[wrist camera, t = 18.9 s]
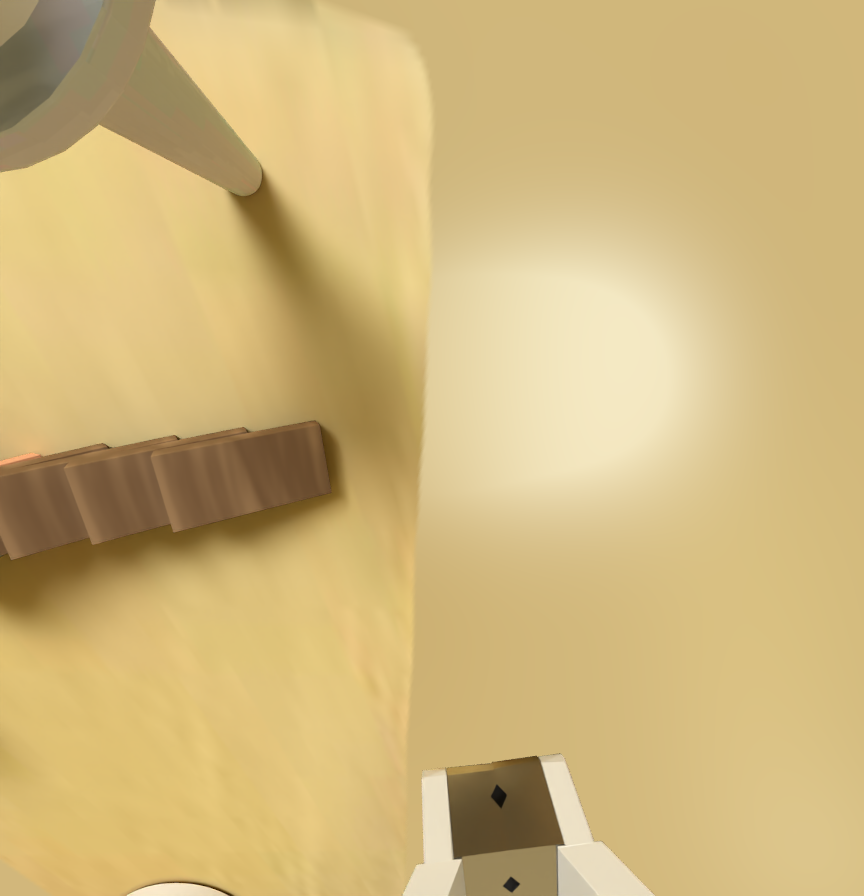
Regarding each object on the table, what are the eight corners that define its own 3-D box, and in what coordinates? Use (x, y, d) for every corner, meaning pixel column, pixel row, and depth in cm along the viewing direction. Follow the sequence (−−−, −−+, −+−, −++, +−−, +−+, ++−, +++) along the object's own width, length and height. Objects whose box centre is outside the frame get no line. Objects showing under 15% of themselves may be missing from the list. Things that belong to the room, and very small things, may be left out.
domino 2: (246, 431, 30) (63, 468, 25) (262, 499, 31) (92, 544, 27) (243, 427, 31) (69, 461, 27) (259, 492, 33) (96, 534, 28)
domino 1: (177, 439, 30) (-24, 482, 25) (196, 506, 31) (11, 560, 26) (174, 435, 31) (-17, 474, 26) (193, 499, 33) (16, 549, 27)
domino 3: (319, 424, 30) (150, 457, 26) (331, 492, 31) (173, 532, 27) (314, 420, 31) (153, 450, 27) (326, 485, 33) (175, 522, 29)
